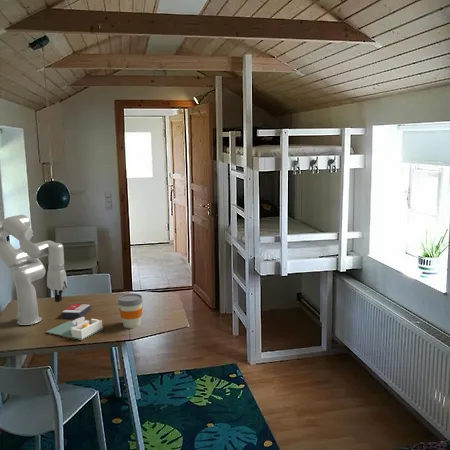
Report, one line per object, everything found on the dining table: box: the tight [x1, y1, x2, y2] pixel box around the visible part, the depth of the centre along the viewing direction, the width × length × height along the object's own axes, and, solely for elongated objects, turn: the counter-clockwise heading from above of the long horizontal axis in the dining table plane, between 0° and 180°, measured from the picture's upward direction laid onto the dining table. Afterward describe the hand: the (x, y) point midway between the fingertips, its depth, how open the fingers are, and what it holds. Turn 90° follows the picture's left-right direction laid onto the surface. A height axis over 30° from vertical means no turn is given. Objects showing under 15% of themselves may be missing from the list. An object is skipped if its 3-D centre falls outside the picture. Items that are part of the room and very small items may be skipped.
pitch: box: [45, 320, 104, 341], centre depth 248 cm, size 24×16×1 cm, turn 63°
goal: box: [71, 318, 104, 339], centre depth 244 cm, size 6×15×4 cm, turn 153°
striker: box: [70, 316, 91, 334], centre depth 246 cm, size 4×11×6 cm, turn 153°
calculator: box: [60, 303, 92, 320], centre depth 273 cm, size 11×4×15 cm
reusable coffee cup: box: [117, 293, 144, 329], centre depth 253 cm, size 13×13×15 cm
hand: (58, 301), depth 250 cm, fingers closed
